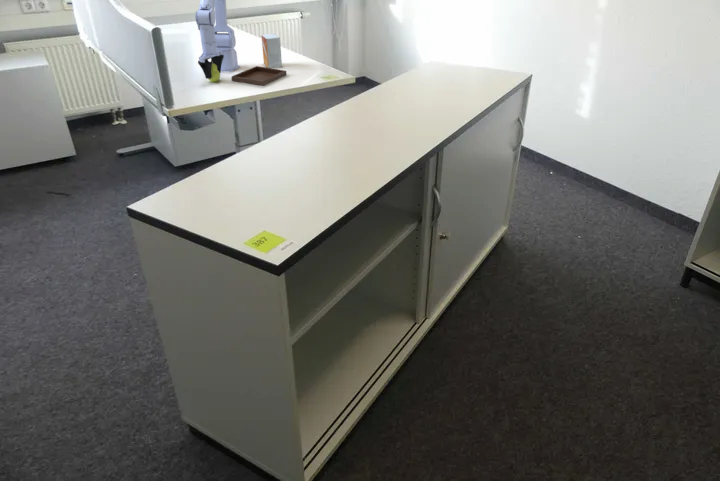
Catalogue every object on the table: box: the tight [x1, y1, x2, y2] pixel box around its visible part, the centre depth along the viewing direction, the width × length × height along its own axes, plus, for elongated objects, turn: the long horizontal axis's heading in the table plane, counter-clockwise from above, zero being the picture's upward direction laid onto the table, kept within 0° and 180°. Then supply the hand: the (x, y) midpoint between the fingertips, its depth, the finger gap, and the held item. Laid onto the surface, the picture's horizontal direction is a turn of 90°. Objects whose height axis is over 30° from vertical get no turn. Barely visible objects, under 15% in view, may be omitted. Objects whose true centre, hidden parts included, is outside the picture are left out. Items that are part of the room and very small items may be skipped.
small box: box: [260, 33, 283, 69], centre depth 248 cm, size 8×6×13 cm
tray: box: [231, 65, 288, 87], centre depth 234 cm, size 18×16×2 cm
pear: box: [208, 59, 221, 83], centre depth 228 cm, size 5×5×9 cm
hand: (213, 75), depth 229 cm, fingers open, 7 cm apart
